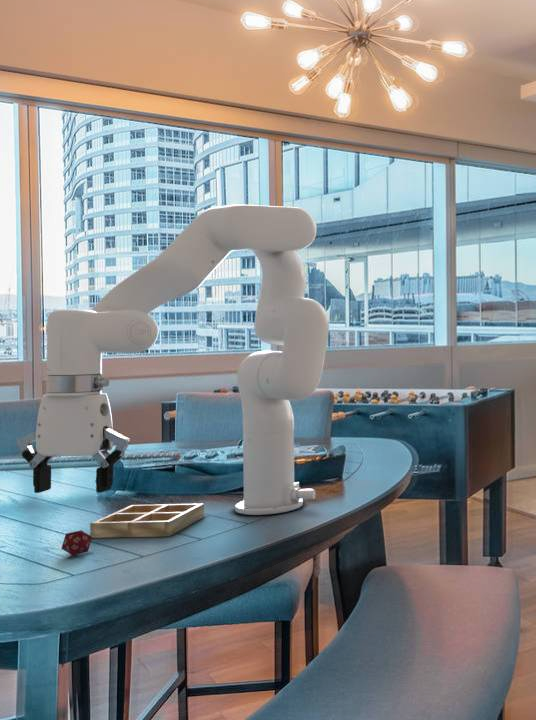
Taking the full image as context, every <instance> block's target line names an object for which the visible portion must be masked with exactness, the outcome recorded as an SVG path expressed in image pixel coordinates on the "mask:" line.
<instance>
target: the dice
mask: <svg viewBox="0 0 536 720" xmlns="http://www.w3.org/2000/svg"><path fill="white" fill-rule="evenodd" d="M90 535H91V534H88V533H87V532H85V531H83V530H81V529H79V530H75V531H73V532H67V533H65V536H64V538H63V542H62V545H61V550H63V551H65V552H66V553H68V554H70V555H71V556H76V555H79V554H84V553H88V552H89V550H90V546H91V542H92V540H93V538H92V536H90Z"/></svg>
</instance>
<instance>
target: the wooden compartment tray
mask: <svg viewBox="0 0 536 720" xmlns="http://www.w3.org/2000/svg"><path fill="white" fill-rule="evenodd" d="M203 518H205V504H204V503H173V504H172V503H162V504H158V503H157V504H155V503H154V504H131V505H128V506H126V507H124V508H122V509H120V510H117V511H115V512H112V513H110V514H108V515H106V516H103V517H101V518H99V519H97V520H94V521H92V522H90V523H89V524H90V525H89V533H90V534H89V535H90V536H92V539H105V538H107V539H108V538H148V537H149V538H153V537H154V538H156V537H157V538H158V537H159V538H161V537H162V538H163V537H171V536H173V535H174V534H176V533H178V532H180V531H182V530H183V529H185V528H187V527H189V526H191V525H192V524H194V523H196V522H197V521H199V520H201V519H203Z"/></svg>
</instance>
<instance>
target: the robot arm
mask: <svg viewBox="0 0 536 720" xmlns="http://www.w3.org/2000/svg"><path fill="white" fill-rule="evenodd" d="M317 230H318V229H317V224H316V220H315V219H314V217H313V216H312V215H311V214H310V213H309V212H308V211H307V210H306V209H304V208H301V207H299V206H297V207H296V206H285V205H284V206H283V205H282V206H280V205H261V204H260V205H259V204H229V205H222V206H221V205H220V206H214V207H209V208H207V209H205V210H203V211H202V212H200V213H199V214H198V215H197V216H196V217H194V219H193V220H192V221H191V222H190V223H189V224H188V225H187V226H186V227H185V228H184V229H183V230H182V231H181V232H180V233H179V234H178V235H177V236H176V237H175V238H174V240H172V241H171V242H170V244H169V245H168V246H167V247H165V249H163V251H161V252H160V253H159V254H158V256H156V258H154V259H152V260H151V261H149V262H148V263H146V264H145V265H143V266H141V267H140V268H139V269H137V270H136V271H135V272H133V273H132V274H130V275H129V276H127V277H126V278H124V279H123V280H122V281H121V282H119V283H118V284H116V285H115V286H113V288H112V289H110V290H109V291H108V292H107V293H106V294H105V295H104V296H103V297H102V298H101V299H100V300H99V301H98V302H97V303H96V304H95V305H94V306H93V307H92V308H91V309H57V310H53V311H51V312H50V313H49V314H48V316H47V320H46V383H45V384H46V387H45V389H46V390H45V391H46V392H45V394H42V396H41V400H40V402H39V403H40V404H39V407H38V411H37V412H38V413H37V421H36V429H35V430H34V431H33V432H30V433H29V434H27V435H24V436H23V437H20V438H19V439H17V440H16V445H17V447H18V449H19V450H20V452H21V457H22V458H23V459H24V460H25V461H26V462H27V463H28V465H29V468H31V469H32V485H33V492H34V494H40V493H43V492H46V491H49V490H50V489H51V488H52V466H51V464H48V463H49V462H50V461H51V460H52V458H53V457H92V458H93V460H95V461H96V463H97V464H98V465H99V467H97V468H96V470H95V473H96V474H95V475H96V476H95V483H96V484H95V492H96V493H98V494H99V493H101V494H102V493H104V492H108V491H110V490H111V489H112V486H113V483H114V466H115V465H117V463H118V461H120V459H121V458H123V457H124V456H125V453H126V451H127V449H128V447H129V445H130V443H131V439H130V438H129V437H127V436H125V435H123V434H121V433H120V432H119V433H118V431H115V430H114V428H113V417H112V410H111V405H110V401H109V397H108V393H106V392H102V391H103V388H104V387H105V388H106V387H109V385H110V379H109V378H104V375H103V353H105V354H124V355H129V354H130V355H132V354H139V353H142V352H145V351H147V350H148V349H150V348H151V347H152V346H153V345H154V344H155V343H156V341H157V340H158V337H159V333H160V332H159V325H158V323H157V322H156V320H155V319H154V318H153V317H152V316H151V314H150V313H151V312H153V311H154V310H156V309H157V308H159V307H161V306H162V305H164V304H167V303H169V302H172V301H174V300H177V299H179V298H182V297H184V296H187V295H188V294H190V293H192V292H193V291H196V290H197V289H198V288H199V287H200V286H201V285H202V284H204V282H205V281H206V280H207V278H208V277H209V276H210V275H211V274H212V273H213V272H214V271H215V270H216V269H217V267H219V265H220V264H221V263H223V261H224V260H225V259H226V258H227V256H228V255H230V254H231V253H232V252H234V251H235V252H236V251H248V250H249V251H250V250H251V251H252V252H253V253H254V255H255V256H256V259H257V260H258V262H259V264H260V268H261V282H260V289H259V295H258V301H257V305H256V310H255V311H256V312H255V316H254V325H253V330H254V333H255V335H256V338H257V339H259V341H261V342H263V343H266V344H268V345H274V346H275V345H276V346H282V350H261V351H256V352H253V353H251V354H249V355H247V356H246V357H245V358H244V359H243V360H242V361H241V362H240V364H239V366H238V369H237V374H236V381H237V388H238V393H239V397H240V402H241V412H242V465H243V466H242V467H243V468H242V469H243V471H242V472H243V474H242V475H243V481H242V482H243V500H242V501H241V500H240V501H239V502H237V503H236V504H235V505H234V511H235V512H236V513H238V514H240V515H247V516H265V515H277V514H282V513H287V512H291V511H294V510H297V509H299V508H301V507H302V506H303V505H304V504H303V503H304V500H315V499H316V490H315V489H314V488H301V487H300V482H299V481H295V417H294V411H293V408H292V405H291V402H290V401H302V400H305V399H308V398H310V397H311V396H312V395H313V394H314V393H315V392H316V391H317V389H318V387H319V384H320V382H321V379H322V374H323V368H324V363H325V359H326V351H327V345H328V339H329V332H330V322H329V321H330V320H329V316H328V313H327V311H326V309H325V308H324V306H323V305H322V304H321V303H320V302H318V301H317V300H315V299H312V298H309V297H305V295H306V286H307V271H306V268H305V264H304V262H303V260H302V258H301V256H300V254H299V252H298V251H301V250H304V249H306V248H308V247H309V246H310V245H312V244H313V242H314V241H315V238H316V235H317ZM34 442H35V449H36V450H35V449H34V448H33V443H34ZM114 444H115V447H114ZM113 447H114V450H112V449H113ZM111 450H112V452H111Z"/></svg>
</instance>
